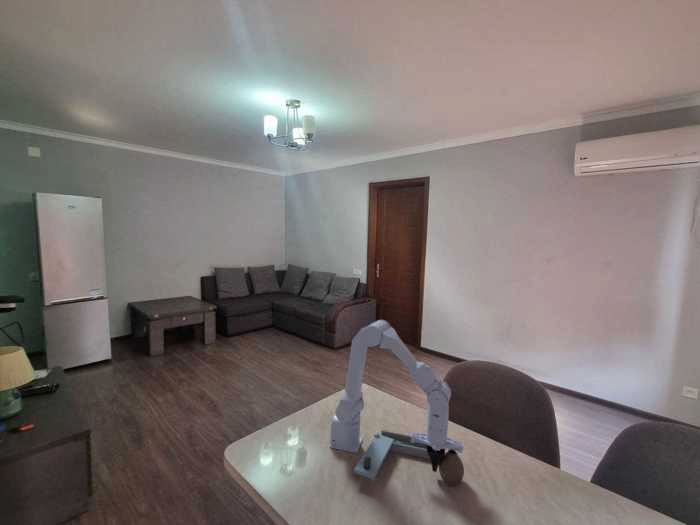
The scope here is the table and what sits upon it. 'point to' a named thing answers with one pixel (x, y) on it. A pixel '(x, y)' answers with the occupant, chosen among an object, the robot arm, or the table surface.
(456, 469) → the vase
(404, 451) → the grey u-channel
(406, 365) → the robot arm
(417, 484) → the table surface
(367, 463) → the cover
